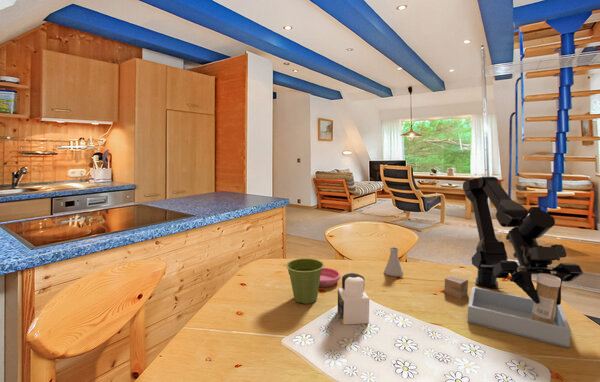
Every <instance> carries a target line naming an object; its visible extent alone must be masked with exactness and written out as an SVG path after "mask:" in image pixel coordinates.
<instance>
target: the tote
mask: <svg viewBox="0 0 600 382" xmlns="http://www.w3.org/2000/svg"><path fill="white" fill-rule="evenodd" d="M533 303H534V301H533V300H532V299H531V298H530V297H526V296H521V295H516V294H510V293H507V292H501V291H496V290H491V289H486V288H483V287H482V288H481V287H476V286H472V288H471V293H470V296H469V300H468V305H467V321H466V322H467V323H469V324H472V325H473V324H474V325H477V326H481V327H484V328H489V329H492V330H497V331H499V332H504V333H508V334H511V335H516V336H519V337H523V338H527V339H530V340H534V341H538V342H543V343H546V344H550V345H553V346H556V347H557V346H558V347H561V348H565V349H570V345H571V344H570V343H571V334H572V330H571V327H570V325H569V322H568V319H567V317H566V315H565V312H564V309H563V307H562V304H560V305H557V304H556V311H555V317H554V320H553V325H552V324H548V323H544V322H540V321H535V320H531V317H532V309H533Z"/></svg>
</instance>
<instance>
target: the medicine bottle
mask: <svg viewBox="0 0 600 382" xmlns="http://www.w3.org/2000/svg"><path fill="white" fill-rule="evenodd" d="M337 313H338V316H339V318H340V320H341V323H342V325H360V324H361V325H364V324H369V323H370V297H369V296H368V294H367V293H366V291H365V276H363V275H361V274H358V273H353V272H350V273H346V274H344V275H343V276H342V277H341V287H339V288H337Z"/></svg>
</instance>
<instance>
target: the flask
mask: <svg viewBox="0 0 600 382" xmlns="http://www.w3.org/2000/svg"><path fill="white" fill-rule="evenodd" d="M389 250H390V254H389V257H388V260H387V264H386V266H385V268H384V270H383V273H384V274H385V275H386V276H390V277H395V278H396V277H402V276H403V275H404V271H403V268H402V265H401V263H400V262H401V261H400V260H399V259H400V258H399V253H398V252H399V247H397V246H391V247H389Z"/></svg>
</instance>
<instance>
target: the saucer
mask: <svg viewBox="0 0 600 382" xmlns="http://www.w3.org/2000/svg"><path fill="white" fill-rule="evenodd" d="M340 279H341V273H340V272H339V270H337V269H334V268H330V267H323V268H322V272H321V275H320V282H319V287H322V288H323V287H324V288H326V287H332V286H334V285H335V284H337V282H338V281H340Z"/></svg>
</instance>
